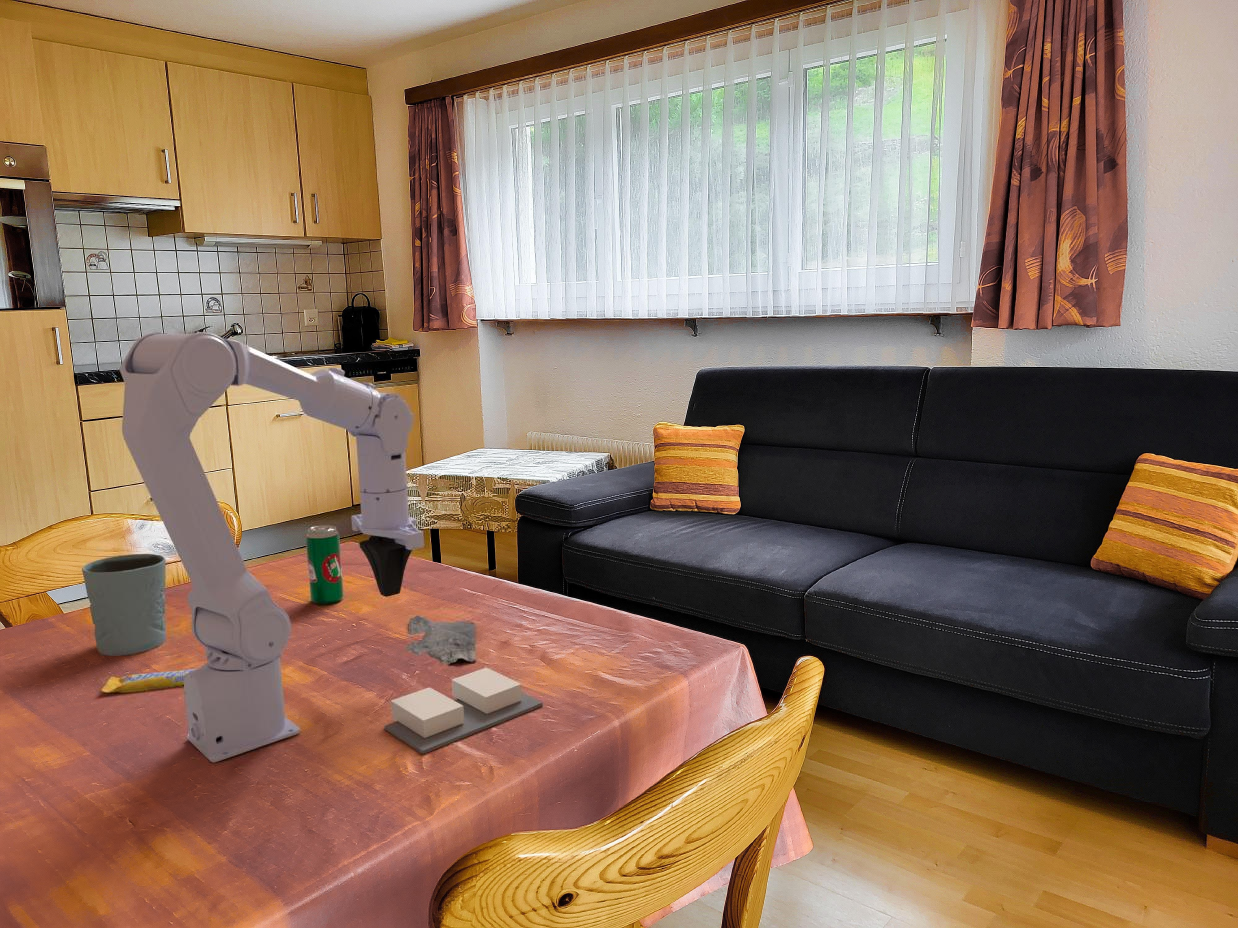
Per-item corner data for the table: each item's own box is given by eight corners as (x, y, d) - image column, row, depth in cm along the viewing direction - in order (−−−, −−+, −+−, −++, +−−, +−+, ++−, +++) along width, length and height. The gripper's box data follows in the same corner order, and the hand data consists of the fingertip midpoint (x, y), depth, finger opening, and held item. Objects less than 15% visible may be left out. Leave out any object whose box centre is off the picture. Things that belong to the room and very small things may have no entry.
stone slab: (406, 616, 132) (473, 607, 133) (407, 628, 132) (474, 619, 134) (400, 666, 114) (478, 655, 116) (402, 679, 115) (479, 668, 116)
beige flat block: (391, 718, 100) (424, 739, 95) (390, 700, 99) (423, 720, 94) (430, 704, 103) (464, 723, 98) (429, 687, 103) (463, 705, 98)
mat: (422, 753, 92) (422, 750, 92) (384, 728, 98) (384, 725, 98) (542, 705, 103) (542, 702, 103) (501, 685, 109) (501, 682, 109)
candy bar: (253, 670, 116) (252, 657, 116) (248, 683, 112) (247, 669, 112) (111, 686, 112) (109, 672, 112) (101, 700, 108) (99, 685, 108)
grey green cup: (75, 654, 122) (64, 570, 120) (131, 629, 131) (122, 550, 129) (137, 660, 119) (127, 574, 117) (189, 633, 129) (181, 554, 127)
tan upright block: (452, 696, 105) (486, 714, 100) (451, 679, 105) (485, 697, 100) (487, 683, 108) (521, 701, 103) (486, 667, 108) (521, 683, 103)
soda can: (311, 597, 144) (305, 526, 142) (343, 594, 146) (338, 523, 144) (310, 607, 140) (304, 533, 138) (343, 603, 141) (338, 530, 139)
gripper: (443, 491, 107) (448, 599, 109) (383, 477, 117) (390, 575, 120) (390, 501, 102) (398, 613, 105) (333, 485, 113) (341, 587, 115)
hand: (390, 594), depth 112 cm, fingers closed
